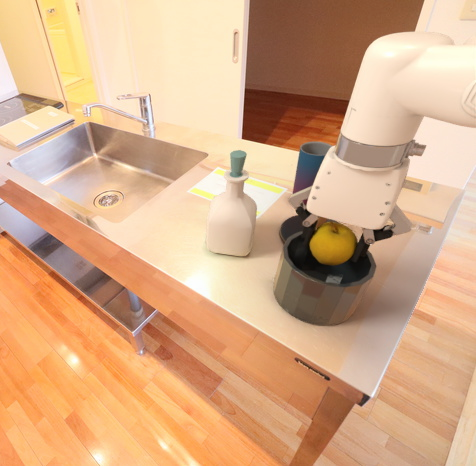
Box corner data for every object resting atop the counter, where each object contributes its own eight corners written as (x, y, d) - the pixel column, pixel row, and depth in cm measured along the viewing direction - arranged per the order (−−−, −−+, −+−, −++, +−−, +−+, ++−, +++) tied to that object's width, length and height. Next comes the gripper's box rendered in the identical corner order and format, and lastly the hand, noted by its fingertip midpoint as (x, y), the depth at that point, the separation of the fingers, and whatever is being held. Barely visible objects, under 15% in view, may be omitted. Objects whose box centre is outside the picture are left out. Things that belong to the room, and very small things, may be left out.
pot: (361, 286, 60) (382, 245, 53) (344, 339, 53) (366, 300, 46) (286, 260, 67) (297, 221, 60) (262, 303, 60) (271, 265, 53)
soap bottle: (252, 232, 75) (267, 142, 60) (249, 261, 68) (265, 167, 54) (210, 227, 78) (215, 140, 63) (204, 254, 72) (207, 164, 57)
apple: (303, 245, 57) (314, 210, 52) (345, 250, 55) (360, 214, 50) (305, 271, 53) (317, 235, 48) (350, 278, 51) (368, 241, 46)
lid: (358, 229, 71) (369, 203, 67) (342, 269, 63) (354, 243, 59) (291, 211, 79) (297, 187, 74) (270, 245, 71) (275, 220, 66)
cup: (319, 198, 81) (336, 143, 72) (314, 213, 77) (332, 157, 68) (290, 193, 85) (303, 139, 75) (284, 207, 80) (297, 152, 71)
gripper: (462, 146, 38) (399, 253, 50) (305, 126, 47) (283, 220, 59) (460, 176, 34) (391, 285, 45) (289, 147, 43) (268, 244, 55)
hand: (330, 247), depth 52 cm, fingers closed on apple, 6 cm apart
